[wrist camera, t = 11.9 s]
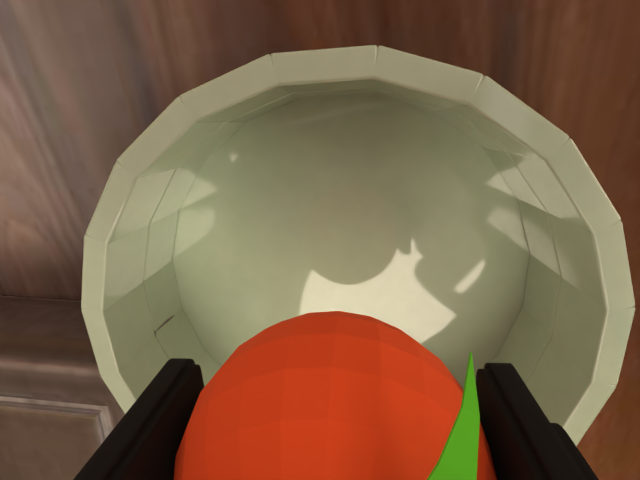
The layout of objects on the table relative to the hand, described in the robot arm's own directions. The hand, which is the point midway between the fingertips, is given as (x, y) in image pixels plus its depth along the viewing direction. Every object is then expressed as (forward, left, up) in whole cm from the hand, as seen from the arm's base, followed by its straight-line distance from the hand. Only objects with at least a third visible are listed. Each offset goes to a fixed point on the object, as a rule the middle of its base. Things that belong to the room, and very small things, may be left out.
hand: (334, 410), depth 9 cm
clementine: (0, 0, -3) cm, 3 cm away
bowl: (0, 0, -8) cm, 8 cm away
